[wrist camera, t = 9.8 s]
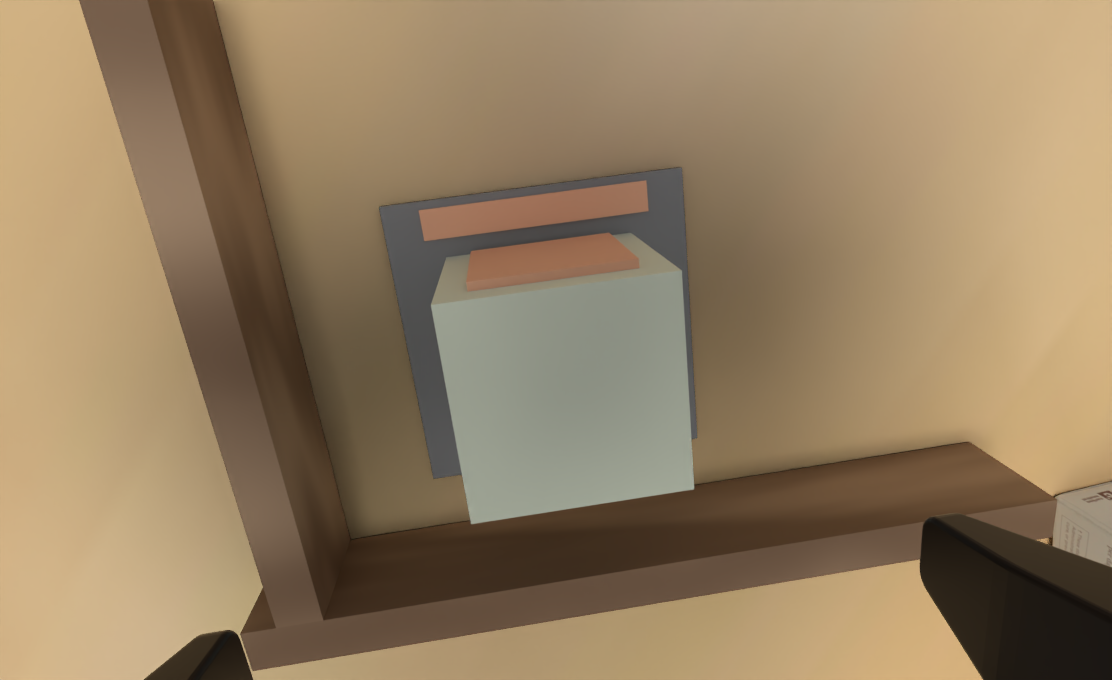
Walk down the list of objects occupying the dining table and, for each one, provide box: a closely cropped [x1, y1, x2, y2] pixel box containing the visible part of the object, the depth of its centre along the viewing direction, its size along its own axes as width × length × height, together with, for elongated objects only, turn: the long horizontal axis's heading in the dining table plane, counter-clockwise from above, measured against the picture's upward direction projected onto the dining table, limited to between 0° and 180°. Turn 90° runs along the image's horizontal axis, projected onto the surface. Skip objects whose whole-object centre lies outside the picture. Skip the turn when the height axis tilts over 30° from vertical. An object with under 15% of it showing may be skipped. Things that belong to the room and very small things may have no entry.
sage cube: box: [431, 233, 694, 524], centre depth 16 cm, size 5×5×5 cm
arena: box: [79, 0, 1057, 671], centre depth 17 cm, size 16×22×4 cm
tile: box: [379, 167, 697, 479], centre depth 19 cm, size 8×8×1 cm
